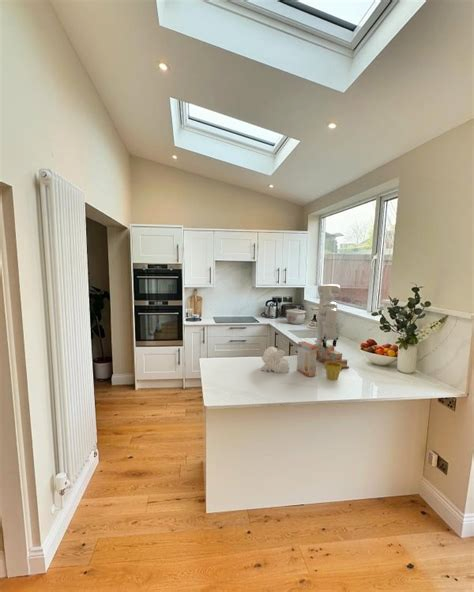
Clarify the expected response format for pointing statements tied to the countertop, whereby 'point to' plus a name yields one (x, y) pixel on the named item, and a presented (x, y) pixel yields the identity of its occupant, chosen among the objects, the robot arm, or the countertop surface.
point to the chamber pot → (295, 316)
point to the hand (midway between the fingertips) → (329, 346)
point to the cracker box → (306, 358)
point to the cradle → (342, 361)
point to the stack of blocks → (328, 353)
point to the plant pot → (333, 370)
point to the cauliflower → (275, 360)
